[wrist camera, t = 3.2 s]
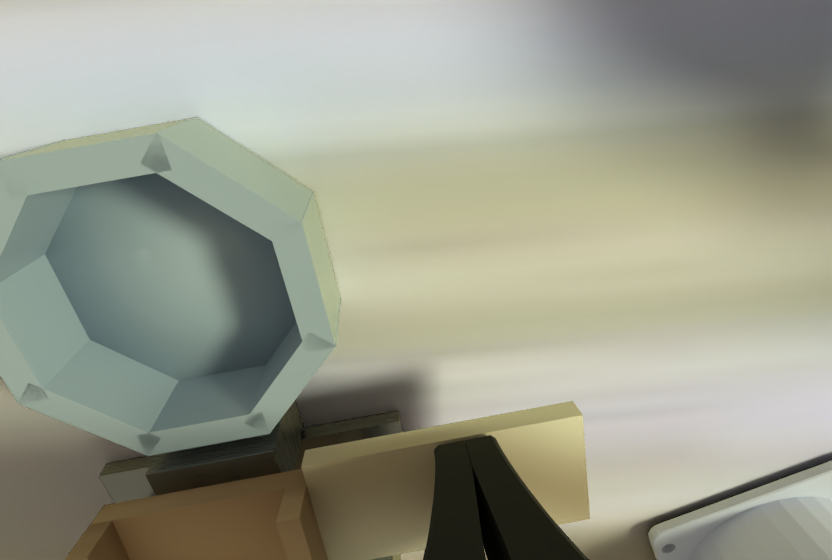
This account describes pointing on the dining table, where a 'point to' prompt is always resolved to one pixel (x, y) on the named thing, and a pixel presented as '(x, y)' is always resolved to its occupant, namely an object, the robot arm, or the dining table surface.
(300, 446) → the fulcrum
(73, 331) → the grey octagonal bowl
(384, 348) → the dining table surface
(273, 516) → the lever
